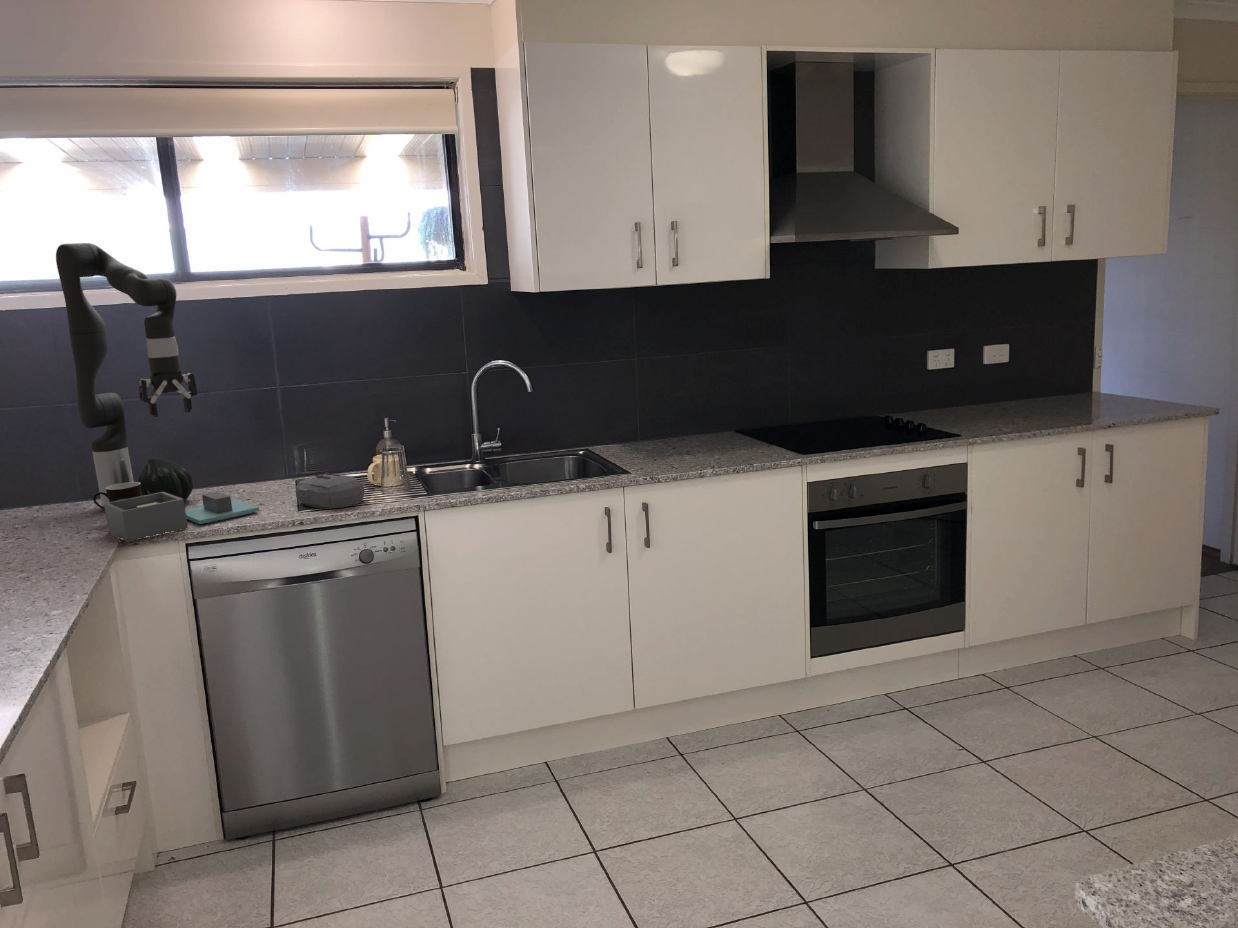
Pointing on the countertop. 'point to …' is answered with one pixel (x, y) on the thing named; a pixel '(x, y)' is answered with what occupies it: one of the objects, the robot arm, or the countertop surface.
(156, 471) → the squash
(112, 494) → the coffee mug
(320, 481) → the soft grey pack
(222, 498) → the lid
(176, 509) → the storage box
